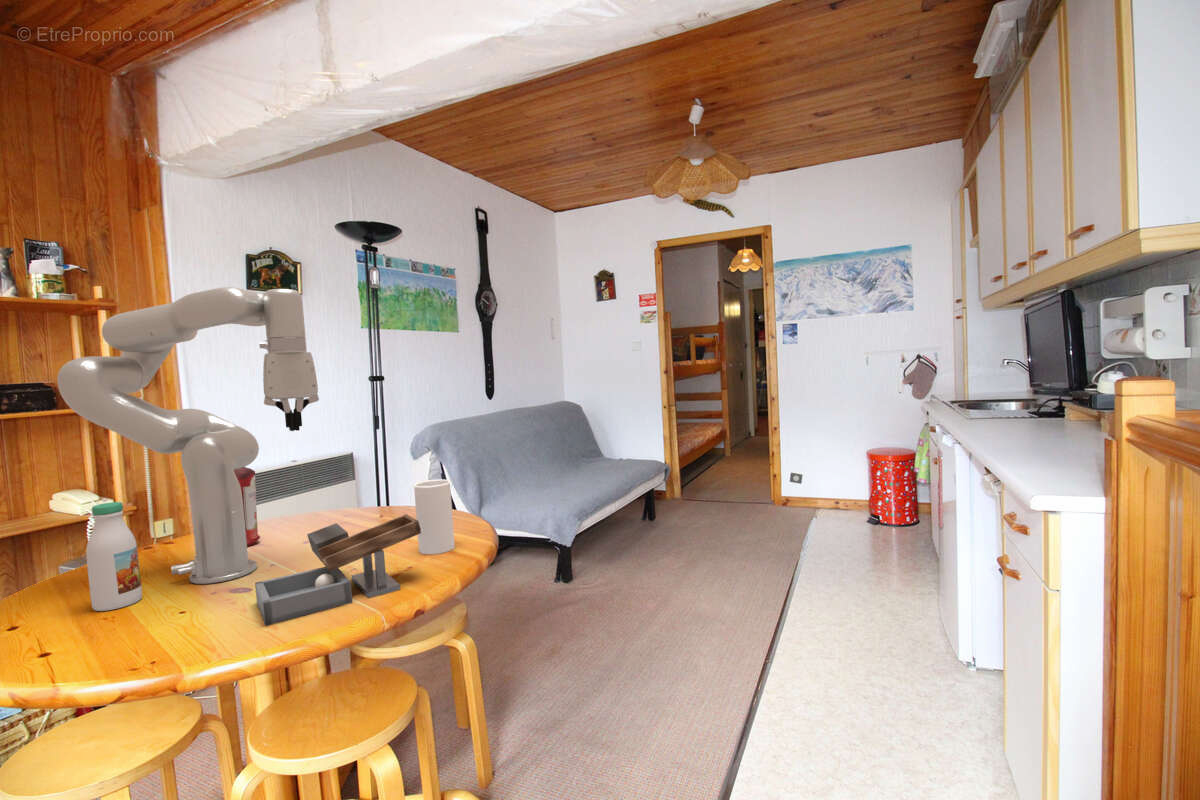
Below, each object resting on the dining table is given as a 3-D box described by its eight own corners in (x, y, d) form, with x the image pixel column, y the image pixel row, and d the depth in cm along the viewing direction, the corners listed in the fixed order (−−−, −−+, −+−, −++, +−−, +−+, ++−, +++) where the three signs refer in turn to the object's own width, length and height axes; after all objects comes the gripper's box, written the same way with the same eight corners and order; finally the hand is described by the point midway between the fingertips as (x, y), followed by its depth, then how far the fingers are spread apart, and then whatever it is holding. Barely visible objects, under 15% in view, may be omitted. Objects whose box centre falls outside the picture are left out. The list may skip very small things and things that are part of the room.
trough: (395, 517, 134) (391, 502, 133) (421, 533, 119) (416, 516, 119) (312, 550, 124) (307, 534, 123) (330, 572, 109) (324, 553, 108)
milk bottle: (101, 615, 110) (89, 510, 109) (85, 608, 114) (74, 507, 113) (149, 600, 116) (139, 501, 115) (133, 593, 120) (123, 498, 119)
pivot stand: (368, 598, 111) (364, 556, 110) (351, 580, 121) (348, 542, 121) (400, 589, 114) (397, 549, 114) (381, 572, 125) (378, 535, 124)
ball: (329, 572, 111) (340, 585, 112) (325, 568, 114) (336, 580, 115) (312, 586, 109) (324, 598, 111) (309, 581, 112) (321, 593, 113)
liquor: (235, 542, 155) (225, 438, 154) (265, 539, 157) (255, 435, 155) (224, 550, 148) (213, 441, 147) (256, 547, 150) (246, 438, 148)
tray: (265, 625, 101) (263, 603, 100) (257, 603, 111) (255, 582, 111) (352, 602, 109) (350, 581, 109) (336, 583, 120) (335, 564, 119)
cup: (449, 553, 135) (444, 485, 134) (414, 555, 136) (408, 487, 135) (458, 542, 144) (453, 478, 143) (425, 544, 144) (420, 480, 143)
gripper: (249, 346, 120) (257, 435, 121) (327, 345, 129) (334, 427, 130) (245, 348, 126) (253, 433, 127) (320, 347, 135) (327, 426, 136)
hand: (294, 430), depth 128 cm, fingers closed
